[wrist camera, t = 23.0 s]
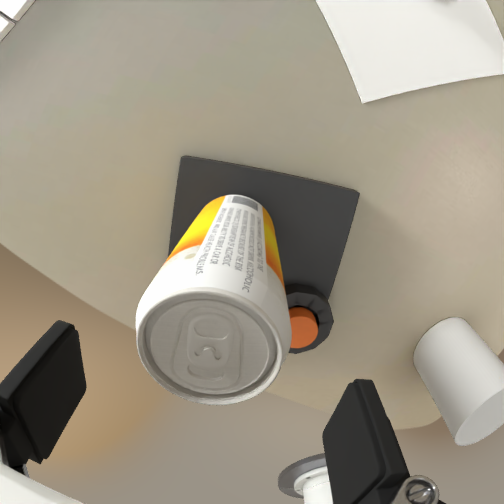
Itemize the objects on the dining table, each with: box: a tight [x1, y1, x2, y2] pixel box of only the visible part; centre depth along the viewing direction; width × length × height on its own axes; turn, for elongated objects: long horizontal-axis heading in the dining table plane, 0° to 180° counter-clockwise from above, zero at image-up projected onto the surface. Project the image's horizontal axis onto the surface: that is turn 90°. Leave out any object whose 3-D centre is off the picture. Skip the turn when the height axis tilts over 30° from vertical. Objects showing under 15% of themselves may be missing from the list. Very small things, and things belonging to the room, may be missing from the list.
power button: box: [288, 307, 318, 348], centre depth 25 cm, size 3×3×2 cm
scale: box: [168, 156, 360, 354], centre depth 25 cm, size 14×15×3 cm
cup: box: [413, 317, 504, 446], centre depth 25 cm, size 8×8×12 cm
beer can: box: [136, 195, 292, 405], centre depth 18 cm, size 6×6×15 cm
